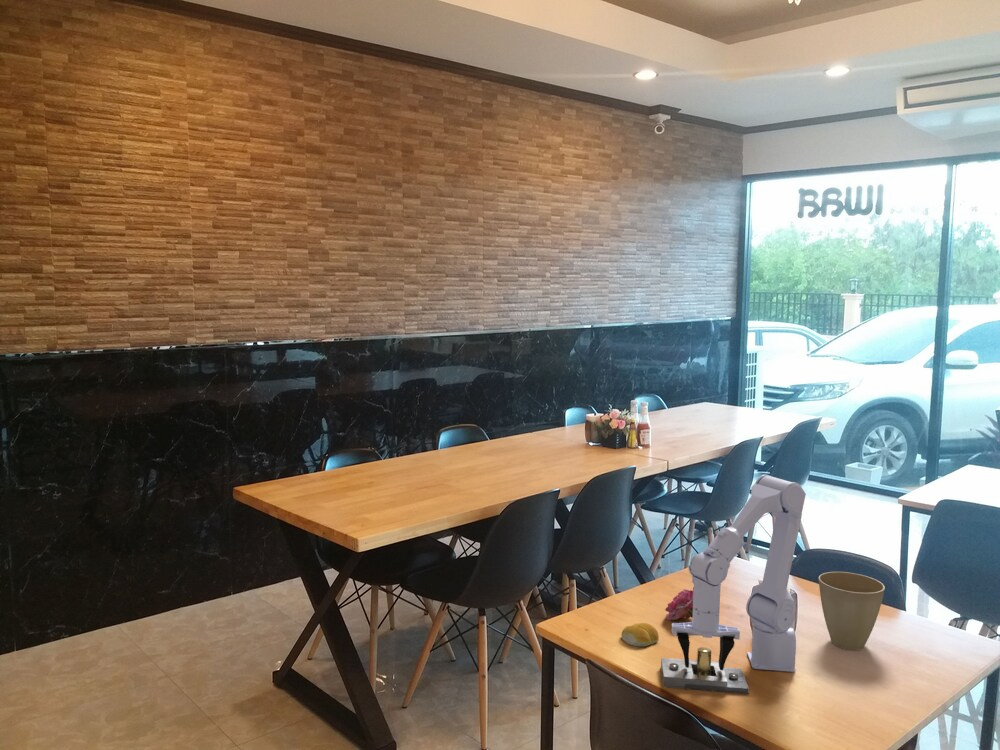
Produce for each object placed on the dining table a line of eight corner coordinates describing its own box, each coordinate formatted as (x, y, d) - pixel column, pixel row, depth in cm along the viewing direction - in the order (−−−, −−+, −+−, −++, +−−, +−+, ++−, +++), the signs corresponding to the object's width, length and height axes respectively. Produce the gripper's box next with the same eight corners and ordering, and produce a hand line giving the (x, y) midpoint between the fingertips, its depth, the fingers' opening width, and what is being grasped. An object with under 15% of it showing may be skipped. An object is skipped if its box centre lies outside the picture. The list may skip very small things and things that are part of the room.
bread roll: (664, 641, 191) (665, 626, 191) (639, 650, 186) (639, 634, 186) (640, 629, 198) (641, 614, 198) (615, 638, 193) (615, 622, 192)
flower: (660, 631, 204) (655, 593, 209) (694, 631, 206) (688, 593, 211) (678, 621, 195) (672, 582, 200) (714, 621, 197) (707, 582, 202)
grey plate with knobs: (741, 673, 175) (741, 661, 174) (748, 694, 166) (749, 680, 165) (660, 667, 177) (661, 655, 177) (663, 687, 168) (664, 674, 168)
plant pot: (894, 653, 186) (899, 589, 184) (845, 661, 182) (848, 596, 180) (849, 627, 200) (853, 568, 199) (802, 634, 196) (805, 574, 194)
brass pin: (708, 677, 173) (710, 647, 172) (711, 684, 170) (712, 653, 169) (695, 676, 173) (696, 646, 172) (697, 683, 170) (698, 653, 169)
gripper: (674, 613, 167) (672, 672, 168) (743, 617, 165) (740, 678, 166) (671, 600, 174) (669, 657, 175) (737, 604, 172) (735, 662, 173)
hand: (703, 666), depth 171 cm, fingers open, 7 cm apart
